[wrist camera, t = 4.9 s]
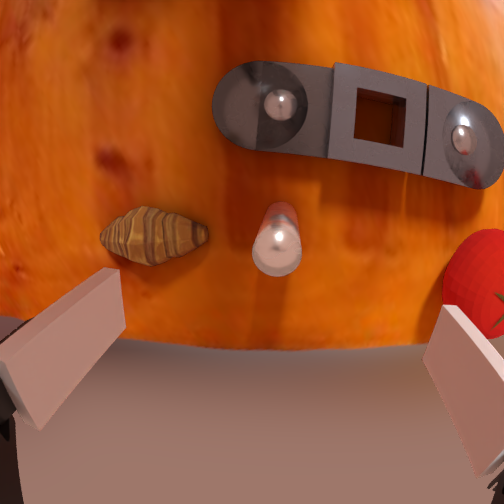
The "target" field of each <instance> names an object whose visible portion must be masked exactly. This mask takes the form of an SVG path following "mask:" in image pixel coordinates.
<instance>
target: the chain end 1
mask: <svg viewBox="0 0 504 504" xmlns="http://www.w3.org/2000/svg"><path fill="white" fill-rule="evenodd" d="M331 77H332V68H327V67H320V66H313V65H304V64H295V63H285V62H271V61H253V62H248V63H244V64H242V65H239V66H237V67H236V68H234V69H232V70H231V71H229V72H228V73H227V74H226V75H225V76H224V77H223V78H222V79H221V81H220V82H219V84H218V85H217V87H216V90H215V92H214V95H213V100H212V112H213V117H214V120H215V122H216V125H217V127H218V128H219V130H220V131H221V132H222V134H223V135H224V136H225V137H226V138H227V139H228V140H230V141H231V142H233V143H234V144H236V145H238V146H240V147H243V148H246V149H250V150H257V151H268V152H278V153H288V154H297V155H305V156H313V157H320V158H325V152H326V142H327V131H328V120H329V107H330V93H331ZM357 97H359V98H364V99H369V100H374V101H378V102H383V103H387V104H392V105H393V109H392V124H391V137H390V145H391V146H396V142H397V130H398V115H399V102H398V101H394V100H390V99H386V98H381V97H377V96H372V95H367V94H362V93H357ZM328 159H329V158H328ZM334 160H336V159H334ZM341 161H343V160H341ZM347 162H349V161H347ZM354 163H355V162H354ZM360 164H361V163H360ZM365 165H367V164H365ZM371 166H373V165H371ZM377 167H378V166H377ZM382 168H383V167H382ZM387 169H388V168H387ZM392 170H393V169H392ZM397 171H398V170H397ZM402 172H403V171H402ZM407 173H408V172H407Z"/></svg>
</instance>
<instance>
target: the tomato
mask: <svg viewBox="0 0 504 504" xmlns="http://www.w3.org/2000/svg"><path fill="white" fill-rule="evenodd" d="M442 299H443V304H444V305H456V306H457V307H458V308H459V309H460V310H461V311H462V312H463V313H464V314H465V315H466V316H467V317H468V318H469V320H470V321H471V322H472V323H473V324H474V325H475V326H476V327H477V329H478V330H479V331H480V332H481V333H482V334H483V335H484V337H485V338H486V339H494V338H497V337H499V336H501V335H504V231H502V230H499V229H484V230H480V231H478V232H475V233H473V234H472V235H470V236H469V237H468V238H467V239H465V240H464V241H463V243H462V244H461V245H460V246H459V247H458V249H457V250H456V252H455V253H454V255H453V257H452V258H451V260H450V262H449V264H448V266H447V268H446V271H445V275H444V278H443V285H442Z"/></svg>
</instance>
